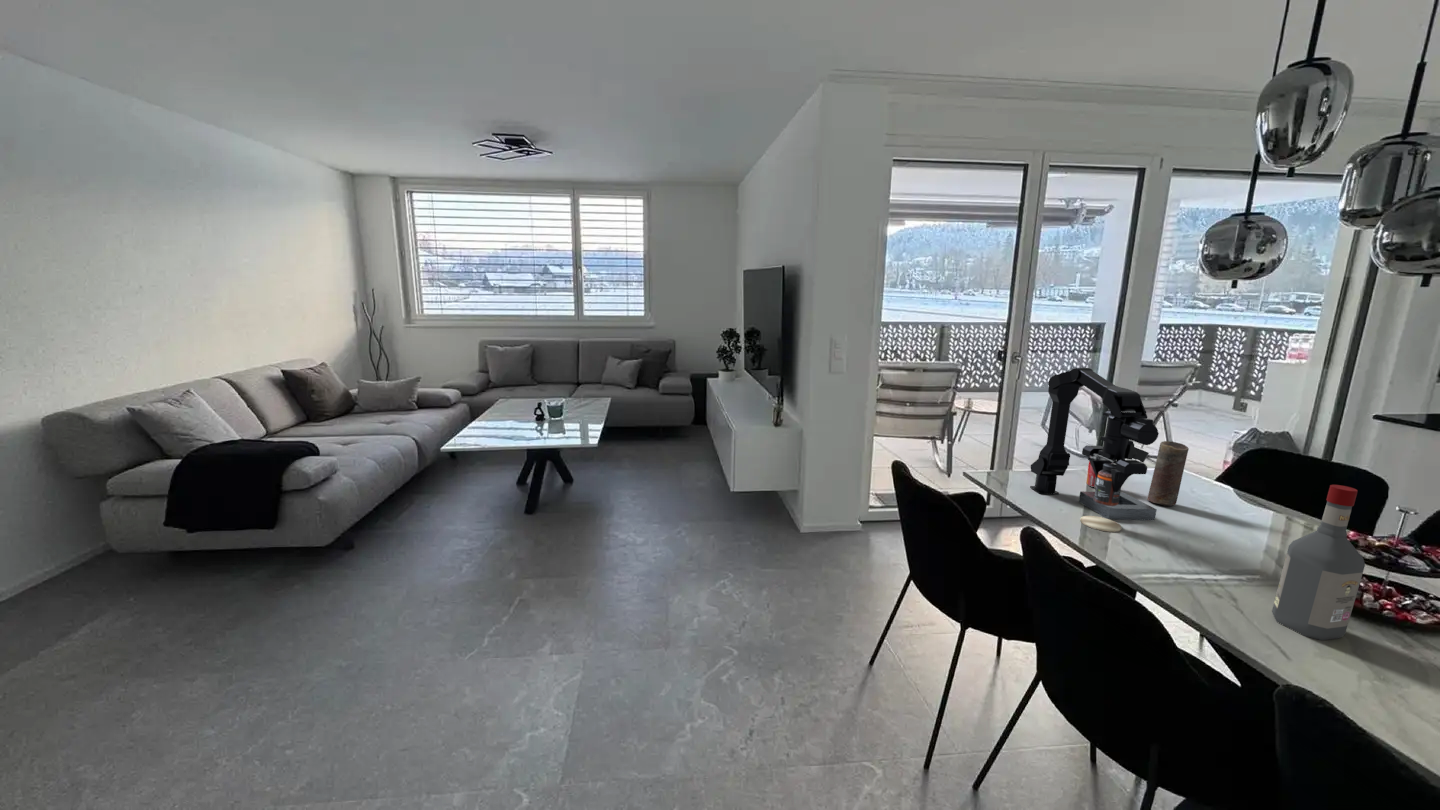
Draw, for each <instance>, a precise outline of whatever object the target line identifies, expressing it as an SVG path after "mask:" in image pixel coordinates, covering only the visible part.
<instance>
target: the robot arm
mask: <svg viewBox="0 0 1440 810" xmlns="http://www.w3.org/2000/svg"><path fill="white" fill-rule="evenodd" d="M1083 387H1085V388H1087V389H1088V390H1090V391H1091V392H1093V393H1094V394H1096V396H1099V397H1100V398H1101V400H1102V401H1101V402H1102V404H1103V405H1104V406H1105V407H1106V408H1107V411H1105V412H1103V413H1102V416H1104V417H1106V418H1107V422H1106V427H1105V432H1104V435H1101V436H1100V440H1101V441H1103V445H1088V444H1087V445H1085V446H1084V447H1082V451H1081V455H1082V456H1084V457H1087V461H1088V462H1089V461H1090V464H1091V466H1092V468H1093V471H1094V473H1095V476H1096V479H1097V477H1098V472H1099V471H1101V470H1102V469H1103V465H1104V464H1106V463H1108V464H1111V463H1112V462H1113V463H1114V464H1115V465H1116V469H1111V476H1112V486H1113V491H1114V492H1118V491H1119V490H1120V488H1121V489H1122V487H1123V485H1125V483H1126V481H1127V480H1128V478H1129V477H1130V476H1132V475H1147V473H1148V472H1147V471H1148V466H1147V464H1146V463H1145V460H1146V459H1147V457H1148V456H1149V453H1150V452H1148V451H1146V450H1143V449H1140V448H1139V447H1136V446H1135V443H1138V444H1140V445H1144V446H1149V445H1151V444H1154V443H1155V442H1156V440H1157V439H1158V438H1159V430H1158V427H1157V426H1156V425H1155V424H1154V420H1153V419H1151V418H1148V414H1147V410H1146V409H1145V407H1144V404H1143V401H1142V399H1141V395H1140V393H1138V392H1137V391H1135V390H1131V389H1129V388H1125V387H1121V386H1117V385H1116V384H1113V383H1112V382H1111V381H1109V380H1107V379H1106V378H1104V377H1103V376H1101V375H1099V373H1096V372H1095V371H1094V370H1093V369H1092V368H1090V367H1075V368H1072V369H1070V370H1068V371H1064V372H1061V373H1058V374H1054V375H1052V377H1050V378H1049V380H1048V395H1049V396H1050V398H1051V401H1052V405H1051V409H1050V410H1051V411H1050V417H1049V418H1050V420H1049V425H1048V432H1047V437H1046V438H1047V439H1046V443H1045V445H1044V446H1043V447H1042V449H1040V451H1039V453H1038V458H1037V459H1036V460H1035V461H1034V462H1032V464H1030V472H1032V473H1034V474H1035V475H1036V476H1035V482H1034V485H1030V487H1029V488H1030V489H1032V490H1033V491H1035V492H1036V493H1038V494H1039V495H1060V492H1058V491H1057V490H1056V488H1057V481H1058V480H1057V478H1058V477H1057V476H1061V477H1064V475H1065V474H1066V471H1067V469H1068V468H1069V467H1068V466H1070V458H1071V454H1070V453H1069V452H1067V450H1066V447H1065V442H1066V436H1067V435H1066V434H1067V430H1068V421H1069V415H1070V409H1071V403H1072V402H1073V401H1074V399H1076V398H1077V396H1078V395H1079V390H1080V389H1081V388H1083ZM1134 442H1135V443H1134Z"/></svg>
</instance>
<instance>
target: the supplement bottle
mask: <svg viewBox="0 0 1440 810" xmlns="http://www.w3.org/2000/svg"><path fill="white" fill-rule="evenodd" d="M1111 469H1116V464H1115V463H1114V464H1108V463H1106V464H1104V465H1103V469H1102V470H1101V471H1099V472H1098V477H1097V483H1096V488H1094V489H1095V491H1094V492H1095V495H1094V501H1095V502H1097V503H1099V504H1102V505H1107V506H1116V505H1118V502H1119V497H1120V492H1122V491H1121V490H1122V487H1121V488H1120V490H1119V491H1118V492H1114V491H1113V486H1112V476H1111Z"/></svg>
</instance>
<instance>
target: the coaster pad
mask: <svg viewBox="0 0 1440 810" xmlns="http://www.w3.org/2000/svg"><path fill="white" fill-rule="evenodd" d="M1079 520H1080V521H1079V522H1080V523H1081V524H1082V525H1084V526H1086V527H1089V528H1091V529H1094V530H1096V531H1101V532H1108V533H1117V532H1118V533H1119V532H1120V531H1121V530H1122V527H1123V526H1122V525H1121V524H1120V523H1118V522H1117V521H1114V520H1112V519H1107V518H1105V517H1103V516H1097V515H1083V516H1081V517H1080V519H1079Z"/></svg>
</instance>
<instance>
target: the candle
mask: <svg viewBox="0 0 1440 810" xmlns="http://www.w3.org/2000/svg"><path fill="white" fill-rule="evenodd" d="M1188 453H1189V447H1188V446H1187V445H1185V444H1183V443H1179V442H1175V441H1171V440H1170V441H1169V440H1164V441H1161V442H1160V443H1159V447H1158V452H1157V457H1156V460H1155V465H1154V470H1153V474H1152V478H1151V482H1150V486H1149V490H1148V493H1147V499H1146V500H1147V501H1149V502H1151V503H1154V504H1157V505H1161V506H1165V507H1170V506H1174V505H1176V504H1177V503H1178V497H1179V494H1180V488H1181V484H1182V479H1183V474H1184V469H1185V465H1186V462H1187V458H1188Z"/></svg>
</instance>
